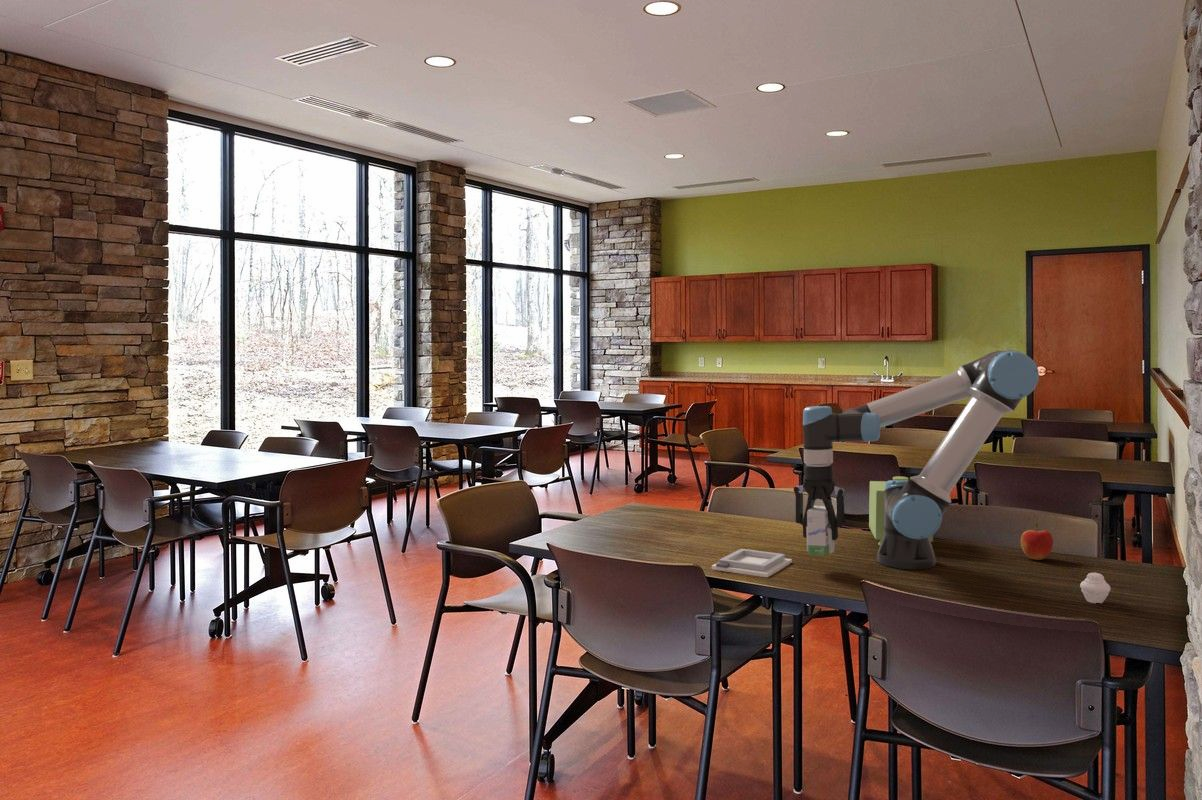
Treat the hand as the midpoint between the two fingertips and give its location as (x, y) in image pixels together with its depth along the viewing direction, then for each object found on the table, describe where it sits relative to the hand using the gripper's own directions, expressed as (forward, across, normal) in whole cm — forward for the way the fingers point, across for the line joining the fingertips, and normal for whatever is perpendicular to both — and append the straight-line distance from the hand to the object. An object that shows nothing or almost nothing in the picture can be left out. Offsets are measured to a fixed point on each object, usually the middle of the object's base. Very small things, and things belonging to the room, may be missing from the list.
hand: (820, 550), depth 228 cm
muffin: (+8, -63, -7) cm, 64 cm away
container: (+7, -9, -47) cm, 48 cm away
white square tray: (+5, +18, +4) cm, 19 cm away
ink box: (+1, 0, 0) cm, 1 cm away
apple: (+8, -47, -44) cm, 65 cm away
